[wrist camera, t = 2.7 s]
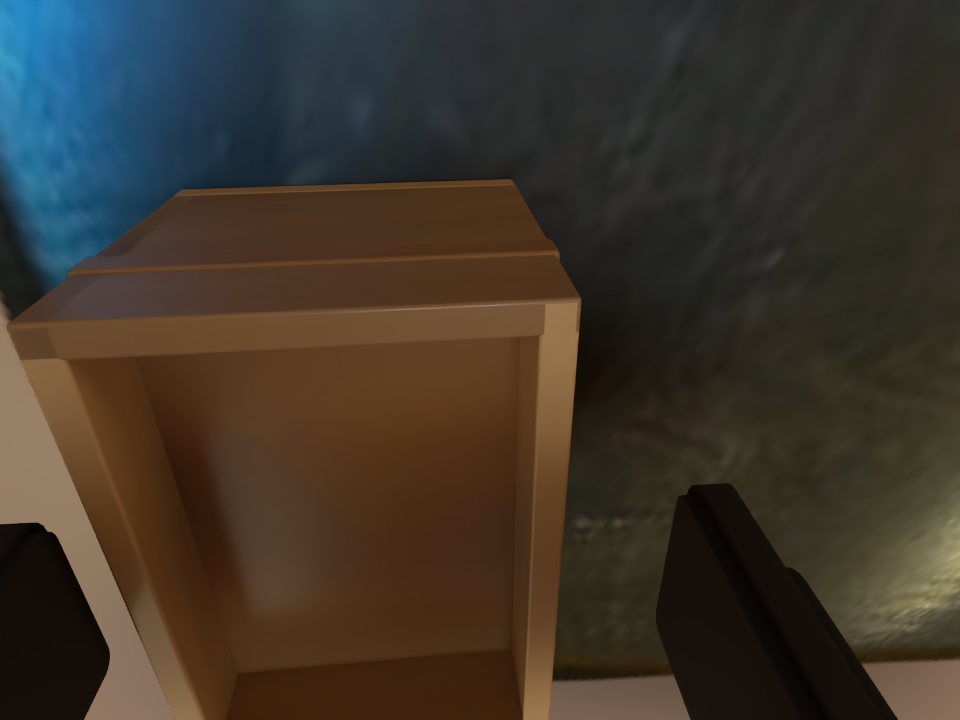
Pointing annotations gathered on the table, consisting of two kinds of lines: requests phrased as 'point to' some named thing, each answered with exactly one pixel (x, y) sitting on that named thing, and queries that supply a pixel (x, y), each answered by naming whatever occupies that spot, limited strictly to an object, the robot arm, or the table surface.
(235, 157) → the table surface
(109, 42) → the table surface
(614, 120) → the table surface
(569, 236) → the table surface
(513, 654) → the open wooden box
